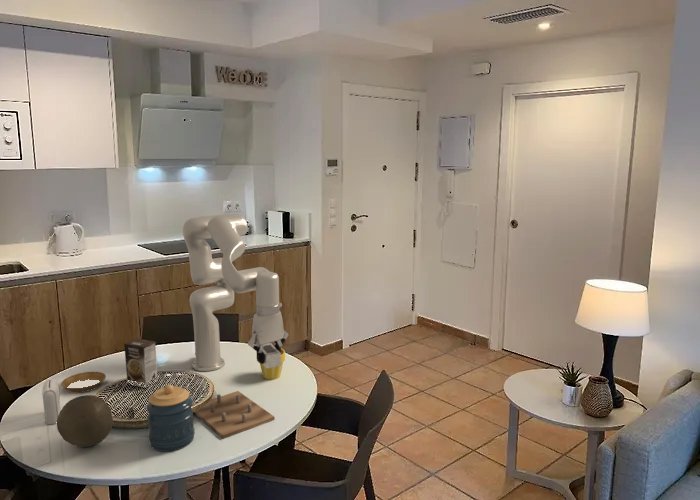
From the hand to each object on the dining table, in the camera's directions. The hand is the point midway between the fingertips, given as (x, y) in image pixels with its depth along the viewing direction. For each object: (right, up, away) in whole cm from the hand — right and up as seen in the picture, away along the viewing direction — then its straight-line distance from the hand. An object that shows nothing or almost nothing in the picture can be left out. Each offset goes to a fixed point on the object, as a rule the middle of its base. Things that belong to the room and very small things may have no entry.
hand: (269, 359), depth 183 cm
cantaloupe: (-49, -20, -25) cm, 59 cm away
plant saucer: (-70, -13, +14) cm, 72 cm away
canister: (-25, -20, -22) cm, 39 cm away
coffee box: (-49, -12, +16) cm, 53 cm away
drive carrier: (0, -1, 0) cm, 1 cm away
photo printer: (-68, -17, -9) cm, 71 cm away
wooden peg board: (-11, -16, -7) cm, 21 cm away
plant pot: (-2, -11, +22) cm, 25 cm away
